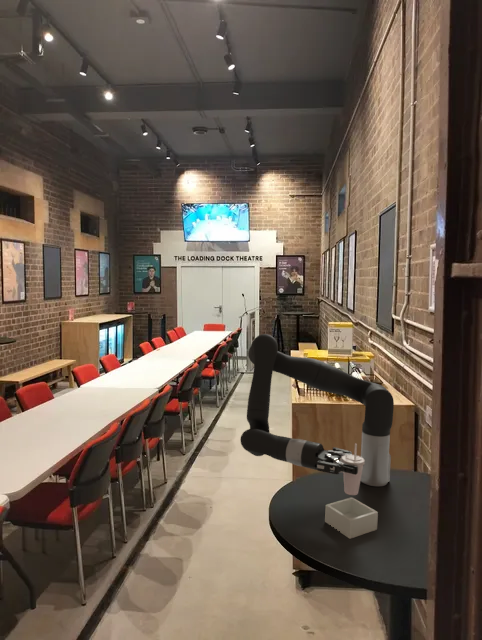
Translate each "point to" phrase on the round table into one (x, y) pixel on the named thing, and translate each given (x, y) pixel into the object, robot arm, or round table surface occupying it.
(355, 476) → the smoothie
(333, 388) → the robot arm
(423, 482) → the round table surface
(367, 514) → the box
